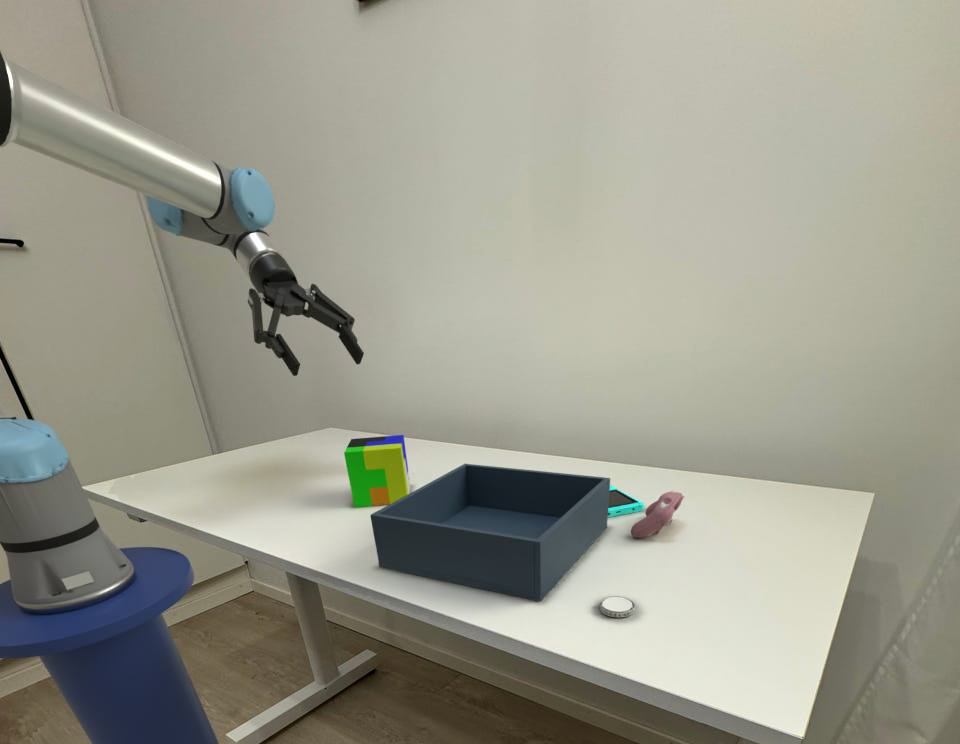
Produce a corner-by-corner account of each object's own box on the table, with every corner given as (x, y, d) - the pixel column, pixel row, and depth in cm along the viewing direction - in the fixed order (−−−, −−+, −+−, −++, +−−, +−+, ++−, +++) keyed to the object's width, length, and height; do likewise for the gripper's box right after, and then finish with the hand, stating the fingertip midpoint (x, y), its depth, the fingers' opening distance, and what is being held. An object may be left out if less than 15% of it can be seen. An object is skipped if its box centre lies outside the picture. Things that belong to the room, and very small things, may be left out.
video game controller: (652, 551, 83) (679, 514, 78) (626, 534, 83) (651, 496, 79) (667, 527, 90) (694, 492, 85) (644, 512, 91) (668, 476, 86)
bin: (379, 567, 80) (370, 514, 76) (468, 508, 99) (464, 463, 94) (540, 601, 69) (540, 542, 65) (607, 528, 87) (610, 477, 83)
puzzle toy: (410, 486, 112) (403, 434, 106) (408, 502, 103) (400, 448, 98) (360, 490, 111) (351, 438, 106) (354, 507, 103) (344, 452, 98)
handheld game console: (599, 483, 106) (599, 476, 105) (645, 510, 93) (646, 502, 92) (550, 492, 103) (551, 485, 102) (592, 520, 90) (592, 512, 90)
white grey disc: (628, 599, 68) (629, 594, 68) (638, 615, 65) (638, 611, 64) (596, 601, 68) (596, 597, 68) (604, 618, 65) (604, 613, 64)
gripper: (321, 283, 112) (378, 369, 111) (200, 293, 98) (264, 391, 97) (330, 249, 106) (390, 339, 105) (202, 254, 92) (270, 358, 91)
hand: (330, 364), depth 101 cm, fingers open, 13 cm apart
